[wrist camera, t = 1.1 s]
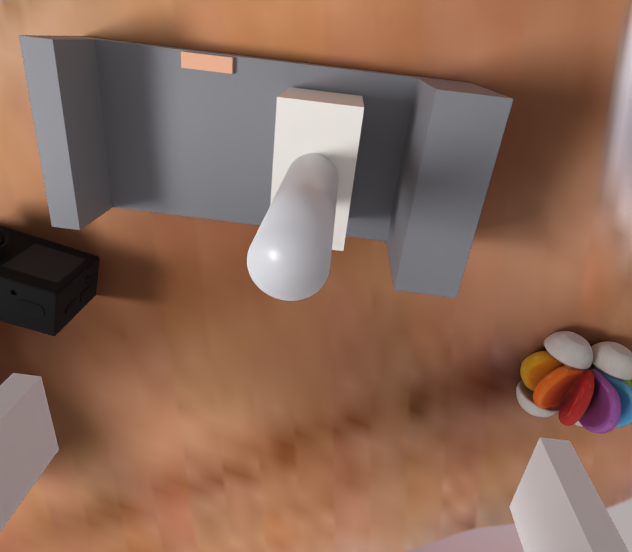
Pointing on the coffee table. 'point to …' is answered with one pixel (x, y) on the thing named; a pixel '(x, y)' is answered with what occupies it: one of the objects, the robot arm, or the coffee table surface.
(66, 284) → the digital camera
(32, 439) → the robot arm
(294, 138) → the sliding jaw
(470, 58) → the coffee table surface
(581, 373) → the rainbow disc rattle
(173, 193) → the bench clamp
